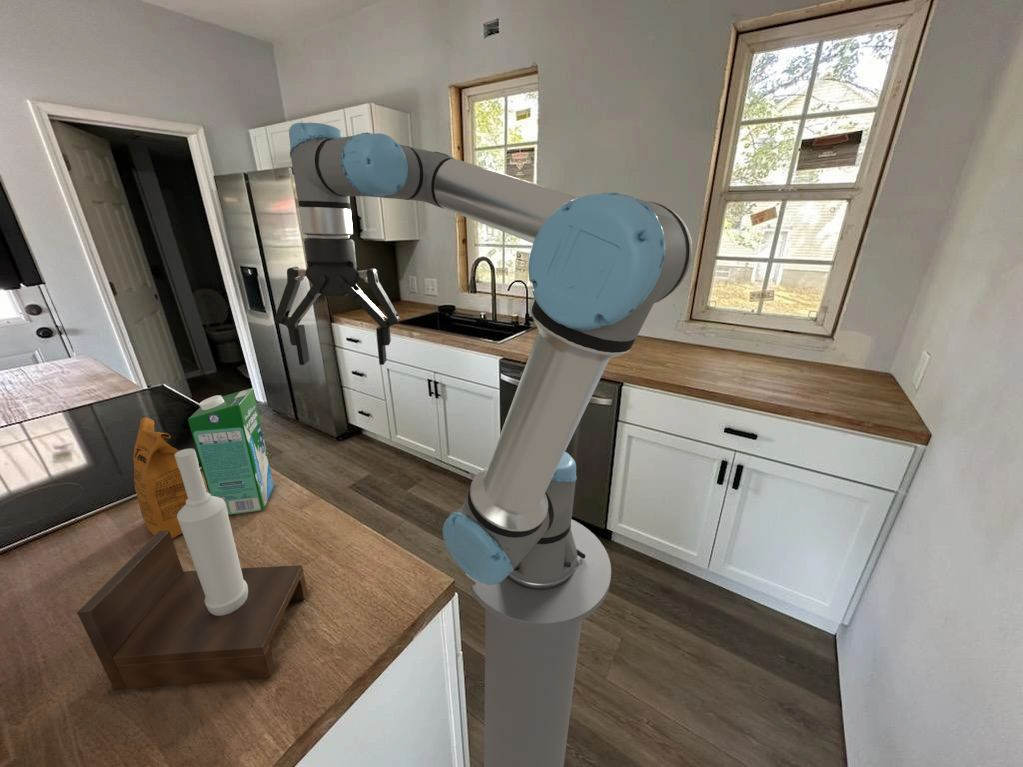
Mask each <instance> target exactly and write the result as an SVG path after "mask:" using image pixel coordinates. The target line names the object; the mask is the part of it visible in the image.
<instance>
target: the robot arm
mask: <svg viewBox="0 0 1023 767" xmlns="http://www.w3.org/2000/svg"><path fill="white" fill-rule="evenodd" d="M288 137H289V145H290V146H289V147H290V148H289V157H290V160H291V166H292V172H293V179H294V185H295V191H296V192H295V193H296V197H297V202H298V210H299V219H300V226H301V233H302V234H303V235H306V238H304V240H303V247H304V254H305V261H306V264H307V265H306V268H299V267H298V266H292V267H289V268H287V269H286V278H287V279H286V284H285V287H284V290H283V293H282V295H281V298H280V302H279V304H278V307H277V309H276V313H275V316H274V319H273V322H274V324H277V325H282V326H284V327H286V328H287V330H288V336H289V343H290V344H291V346H296V352H297V358H298V364H299V366H305V365H306V364H307V363H308V362H310V354H309V348H308V343H307V342H308V340H307V334H306V328H305V324H300V323H301V321H302V319H303V318H304V317H305V315H306V314H307V313H308V311H309V310H310V309H311V308H312V306H313V305H314V303H315V302H316V301H317V299H318V298H319V297H320V296H321V295H322V296H324V297H333V296H336V297H345V296H349V297H350V298H351V299H353V300H354V301H355V302H356V303H357V304H358V305H359V306H360V307H361V308H362V309H363V310H364V311H365V312H366V313H367V314H368V315H369V316H370V317H371V318H372V319H373V320H374V321H375V323H377V325H378V326H377V327H376V329H375V330H376V340H377V352H378V362H379V363H378V364H379V365H380V366H381V365H382V366H384V365H385V364H386V361H387V360H388V359H387V348H386V346H390V344H391V342H392V338H391V336H392V335H391V326H395V325H397V324H398V323H399V322H400V321H401V318H400V315H399V313H398V312H397V310H396V308H395V307H394V305H393V303H392V302H391V299H390V298H389V296H388V295H387V293H386V291H385V290H384V288H383V285H382V284H381V282H380V281H379V275H378V270H377V269H376V268H375V267H371V268H369V269H363V270H360V269H359V268H358V265H357V257H356V247H355V241H354V240H353V239H352V238H350V236H352V235H354V228H353V219H352V210H351V209H352V207H351V201H350V200H351V199H350V197H369V198H370V197H371V198H372V197H373V198H382V199H395V200H406V201H416V202H417V201H418V202H423V203H428V204H430V205H432V206H435V207H437V208H440V209H444V210H447V211H449V212H451V213H454V214H457V215H459V216H461V217H464V218H467V219H470V220H473V221H475V222H477V223H480V224H482V225H484V226H488V227H490V228H492V229H494V230H499V231H501V232H503V233H506V234H508V235H511V236H513V237H515V238H518V239H521V240H523V241H525V242H528V243H531V244H532V245H531V248H530V252H529V258H528V268H527V269H528V271H527V272H528V281H529V282H530V283H531V284H532V288H533V289H532V295H533V298H534V300H533V303H532V307H531V309H530V315H531V318H532V320H533V322H534V323H535V326H536V327H537V329H538V330H537V333H536V335H535V339H534V342H533V344H532V347H531V349H530V352H529V355H528V358H527V360H526V363H525V366H524V369H523V371H522V374H521V376H520V380H519V383H518V384H517V388H516V390H515V394H514V396H513V399H512V401H511V405H510V407H509V409H508V413H507V415H506V417H505V421H504V423H503V426H502V429H501V431H500V435H499V437H498V440H497V443H496V445H495V447H494V451H493V453H492V456H491V459H490V462H489V464H488V466H487V467H486V468H484V469H482V470H480V471H479V472H478V473H477V474H475V475H474V478H473V479H472V480H471V483H470V486H469V489H468V492H467V495H466V497H465V499H464V500H465V501H464V502H463V504H462V505H461V506H460V507H459V509H457V510H456V511H453V512H451V513H450V514H449V517H447V518H446V519H445V521H444V523H443V525H442V538H443V542H444V545H445V547H446V549H447V551H448V553H449V555H450V557H451V558H452V560H453V561H454V563H455V564H456V565H457V566H458V567H459V568H460V570H462V571H463V573H464V572H465V573H466V574H467V575H469V576H470V577H471V578H473V579H474V580H476V581H478V582H480V583H485V584H487V585H496V584H498V583H500V582H502V581H503V580H504V579H505V578H506V577H507V578H508V579H509V580H511V581H512V582H514V583H515V584H517V585H519V586H522V587H525V588H528V589H534V590H547V589H553V588H556V587H559V586H561V585H563V584H564V583H566V582H567V581H568V580H569V579H570V578H571V577H572V576H573V574H574V573H575V570H576V566H577V555H578V556H579V557H581V558H583V559H584V558H585V556H586V555H585V554H583V553H582V552H580V551H579V550H578V549H576V545H575V542H574V538H573V535H572V531H571V519H572V517H573V509H574V501H575V500H574V499H575V491H576V482H577V479H578V477H577V463H576V461H575V459H574V458H573V457H572V455H571V454H569V453H568V452H567V448H568V446H569V445H570V443H571V440H572V438H573V436H574V434H575V432H576V430H577V429H578V426H579V423H580V422H581V419H582V417H583V415H584V413H585V411H586V409H587V407H588V405H589V403H590V401H591V399H592V396H593V395H594V393H595V391H596V389H597V386H598V385H599V382H600V380H601V377H603V374H604V372H605V370H606V368H607V366H608V364H609V361H610V359H613V358H616V357H619V356H622V355H625V354H627V353H629V352H630V350H631V349H632V348H633V345H634V344H635V341H636V340H637V337H638V335H639V334H640V332H641V329H642V328H643V326H644V324H645V322H646V320H647V318H648V316H649V314H650V312H651V310H652V308H653V306H654V304H656V303H659V302H661V301H663V300H664V299H666V298H667V297H668V296H669V295H671V294H672V293H673V292H674V291H675V290H676V289H677V288H678V287H680V285H681V284H682V282H683V281H684V279H685V277H686V276H687V274H688V272H689V269H690V265H691V262H692V258H693V257H692V256H693V242H692V237H691V234H690V233H691V232H690V230H689V228H688V227H687V225H686V223H685V221H684V220H683V218H682V217H681V216H680V215H679V214H678V213H677V212H675V211H674V210H673V209H671V207H668V206H666V205H664V204H661V203H658V202H654V201H648V200H643V199H639V198H635V197H634V196H632V195H627V194H621V193H618V192H603V193H592V194H586V195H582V196H576V195H574V194H569V193H567V192H564V191H560V190H557V189H553V188H551V187H547V186H543V185H540V184H538V183H534V182H531V181H528V180H525V179H522V178H519V177H515V176H512V175H510V174H509V175H508V174H507V173H503V172H499V171H496V170H493V169H490V168H486V167H483V166H481V165H477V164H473V163H470V162H468V161H463V160H461V159H457V158H455V157H453V156H452V155H451V156H450V155H449V154H446V153H443V152H440V151H432V150H427V149H422V148H418V147H412V146H408V145H404V144H400V143H398V142H396V141H395V139H394V138H392V137H391V136H390V135H387V134H385V133H380V132H379V133H371V132H361V133H357V134H355V135H348V136H343V133H342V131H341V130H340V129H339V128H338V127H335V126H333V125H330V124H325V123H320V122H295V123H293V124H292V125H291V126H290V127H289V128H288ZM305 277H306V279H307V280H308V281H309V282H310V283H311V284H312V286H311V287H310V288H309V290H308V291H307V293H306V295H305V296H304V298H302V300H301V302H300V303H299V304H298V306H297V307H296V309H295V310H294V311H293V312H292V314H291V315H290V313H291V310H292V308H293V305H294V302H295V299H296V296H297V294H298V291H299V288H300V285H301V282H303V281H304V280H305ZM360 278H361V279H363V281H364V283H366V284H368V286H369V289H370V290H371V292H372V293H373V295H374V296H375V299H376V300H377V301H378V303H379V305H380V307H381V309H382V310H383V312H384V313H383V312H382V311H381V309H379V307H377V306H376V304H375V303H373V302H372V300H370V298H369V297H368V296H367V295H366V294H365V293H364V290H362V289H361V287H359V286H358V282H359V280H360ZM572 520H573V519H572ZM467 575H466V576H467ZM471 578H470V579H471Z"/></svg>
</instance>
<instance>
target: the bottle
mask: <svg viewBox="0 0 1023 767" xmlns="http://www.w3.org/2000/svg"><path fill="white" fill-rule="evenodd" d="M175 459H176V462H177V465H178V468H179V470H180V473H181V476H182V480H183V483H184V486H185V490H186V493H187V496H188V499H187V500H186V505H185V506H184V507H183V508H182V509H181V510H180V511H179V512H178V514H177V519H178V521H179V524H180V527H181V530H182V535H183V537H184V541H185V543H186V546H187V549H188V552H189V554H190V557H191V560H192V563H193V565H194V568H195V571H197V574H198V577H199V580H200V583H201V585H202V588H203V591H204V594H205V596H206V597H205V601H204V602H205V604H206V607H207V609H208V611H209V612H210V613H211V614H213V615H216V616H221V615H226V614H229V613H231V612H233V611H235V610H237V609H238V608H239V607H241V606H242V605H243V604H244V602H245V601H246V599H247V596H248V586H247V583H246V582H245V580H243V575H242V571H241V568H242V566H241V562H240V560H239V554H238V550H237V546H236V542H235V538H234V534H233V529H232V525H231V521H230V516H229V515H228V512H227V508H226V504H225V501H224V500H223V499H222V498H219V497H215V496H211V494H210V493H209V492H208V491H207V489H206V488H207V487H206V484H205V482H204V479H203V478H204V477H203V475H202V472H201V471H202V470H201V467H200V465H199V464H200V461H199V458H198V454H197V451H196V449H195V448H184V449H181V450H179V451H178V452H177V453H175Z"/></svg>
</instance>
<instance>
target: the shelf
mask: <svg viewBox="0 0 1023 767" xmlns="http://www.w3.org/2000/svg"><path fill="white" fill-rule="evenodd" d="M178 555H179V554H178V551H177V549H176V546H175V543H174V540H173V539H172V537H171V534H170V531H158V532H157V533H156V534H155V535H153V536H152V537H151V538H150V539H149V541H147V542H146V543H145V544H144V545H143V546H142V547H141V548H140V549H139V550H138V551H137V552H136V553H135V554H134V555H133V556H132V557H131V558H130V559H129V560H127V562H126V563H125V564H124V565H122V567H121V568H120V569H119V570H118V571H117V572H115V574H114V575H112V577H111V578H110V579H109V580H107V582H106V583H105V584H104V585H103V586H102V587H100V589H99V590H98V591H96V593H95V594H93V596H92V597H91V598H90V599H88V600H87V601H86V602H85V604H84V605H82V607H81V608H80V609H79V610H78V611H77V612H76V613H77V615H78V618H79V620H80V622H81V624H82V626H83V628H84V630H85V633H86V634H87V637H88V639H89V641H90V643H91V646H92V647H93V649H94V651H95V653H96V655H97V657H98V659H99V662H100V664H101V666H102V668H103V670H104V672H105V675H106V676H107V678H108V680H109V683H110V684H111V686H112V688H113V690H114V691H121V690H133V689H145V688H156V687H157V688H158V687H170V686H183V685H195V684H196V685H197V684H198V685H199V684H209V683H210V684H211V683H222V682H235V681H247V680H249V681H250V680H257V679H258V680H261V679H270V678H271V677H272V676H273V673H274V670H275V668H276V664H275V661H274V657H273V654H272V650H271V646H270V643H271V642H272V640H273V638H274V636H275V633H276V632H277V629H278V627H279V625H280V622H281V620H282V619H283V616H284V615H285V612H286V610H287V608H288V606H289V603H290V602H291V601H292V602H294V601H305V600H306V597H307V595H308V589H307V588H308V587H307V582H306V579H305V573H304V567H303V565H302V564H298V565H296V564H295V565H281V566H280V565H278V566H259V567H241V571H242V575H243V580H245V582H246V583H247V586H248V596H247V599H246V601H245V602H244V604H243V605H242V606H241V607H239V608H238V609H237V610H235V611H233V612H231V613H229V614H226V615H221V616H216V615H213V614H211V613H210V612H209V611H208V609H207V607H206V604H205V602H204V601H205V597H206V596H205V594H204V591H203V588H202V585H201V583H200V580H199V577H198V574H197V571H196V570H183V566H182V563H181V561H180V558H179V556H178Z"/></svg>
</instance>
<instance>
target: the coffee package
mask: <svg viewBox="0 0 1023 767" xmlns="http://www.w3.org/2000/svg"><path fill="white" fill-rule="evenodd" d="M155 424H156V423H155V420H153V419H151V418H148V417H146V416H145V417H142V418H141V419H140V422H139V428H138V432H137V435H136V440H135V444H134V447H133V448H134V449H133V484H134V485H133V486H134V490H135V493H136V497H137V502H138V506H139V509H140V510H139V511H140V513H141V516H142V518H143V521H144V523H145V524H144V525H145V526H146V528H147V530H148V531H149V533H151V534H152V535H153V536H154V535H155V534H156V533H157V532H158V531H170V534H171V537H172V540H173V539H175V538H176V537H178V536H181V535H183V533H182V530H181V527H180V524H179V521H178V519H177V514H178V512H179V511H180V510H181V509H182V508H183V507H184V506H185V505H186V500H187V499H188V496H187V493H186V490H185V486H184V483H183V480H182V476H181V473H180V470H179V468H178V465H177V462H176V459H175V453H177V452H178V451H180V449H177V448H175V447H173V446H172V445H171V444H169V443H168V442H167V441H166V440H170V439H171V438H172V436H171V434H169V433H168V432H161V431H155Z"/></svg>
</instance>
